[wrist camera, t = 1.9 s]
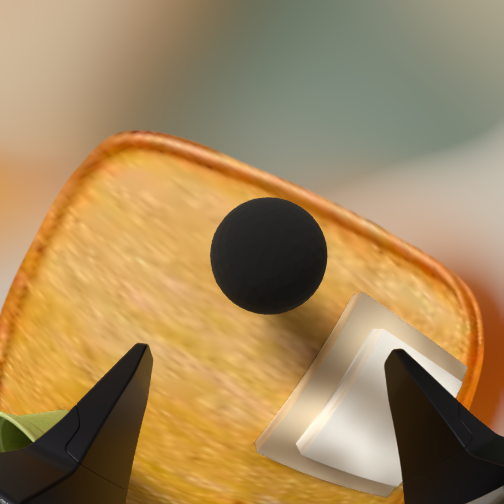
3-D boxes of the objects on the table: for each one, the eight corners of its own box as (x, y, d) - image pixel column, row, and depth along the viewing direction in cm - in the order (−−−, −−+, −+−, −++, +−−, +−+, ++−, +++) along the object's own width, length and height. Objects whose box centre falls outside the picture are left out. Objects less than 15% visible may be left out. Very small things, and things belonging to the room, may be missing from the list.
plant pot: (112, 496, 15) (74, 542, 7) (35, 445, 15) (-16, 469, 7) (129, 427, 17) (79, 470, 9) (44, 373, 18) (-22, 383, 9)
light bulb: (281, 231, 22) (312, 163, 12) (307, 301, 21) (364, 282, 11) (209, 253, 21) (188, 197, 12) (233, 327, 20) (230, 332, 10)
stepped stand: (378, 488, 16) (396, 506, 12) (254, 441, 18) (258, 464, 14) (454, 366, 20) (482, 368, 16) (352, 294, 21) (375, 288, 17)
